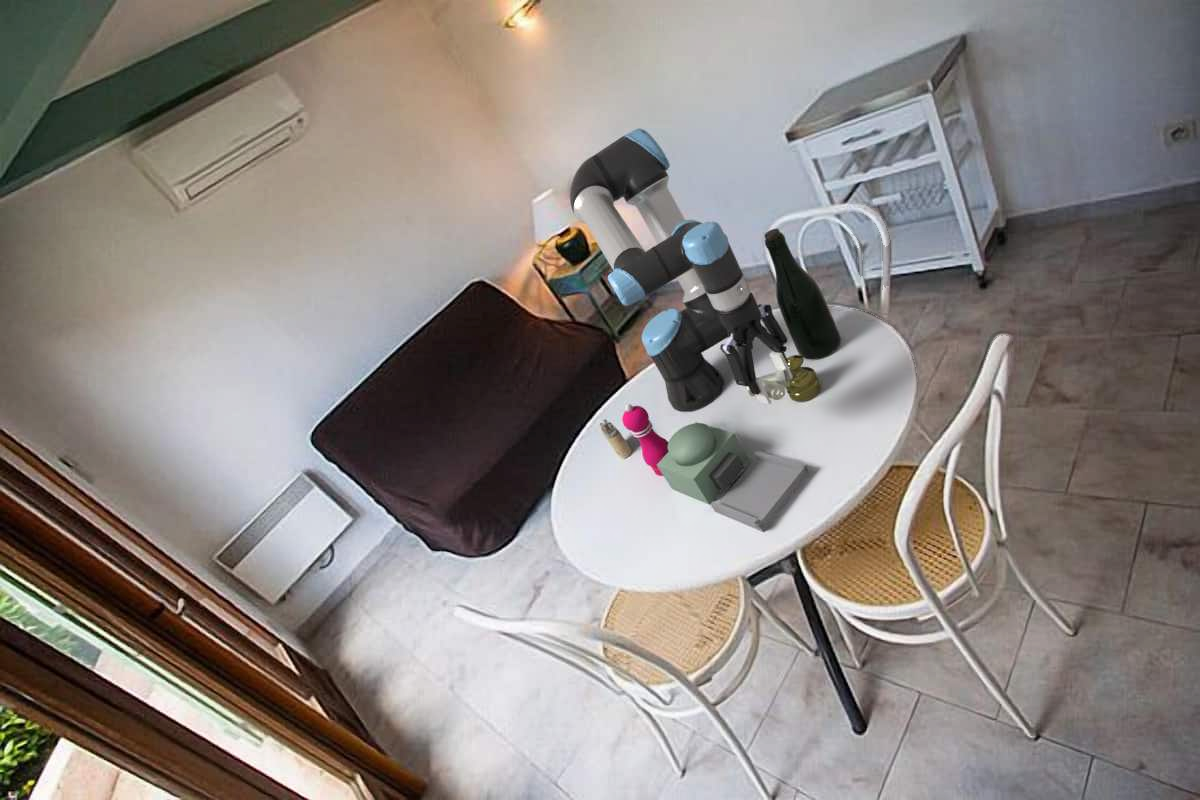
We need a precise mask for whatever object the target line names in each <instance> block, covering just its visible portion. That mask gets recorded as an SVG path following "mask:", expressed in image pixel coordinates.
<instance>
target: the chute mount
mask: <svg viewBox="0 0 1200 800" xmlns="http://www.w3.org/2000/svg"><path fill="white" fill-rule="evenodd" d="M753 455H754V457H755V459H754V461H752V463H751V464H750V465H749V466H748V467H747V469H746V470H745V471H743V473H742V474H741V475H740V477H739V478H737V480H736V482H735V483H734V484H733V485H732V486H731V488H730V489H729V490H728V491H727V492H726V493H725V495H724V496H723V497H722V498H721V499H720V500H719V502H718V501H714V500H713V501H712V502H711V503H710V506H711V508H712V509H713V511H714V512H715V513H717V514H719V515H721V516H724V517H726V518H728V519H731V520H733V521H737V522H739V523H741V524H743V525H746V526H748V527H750V528H753V529H755V530H757V531H760V532H762V533H763V532H764V531H765V530H766V529H767V528H768V527H769V526H770V524H771V523H772V521H773V520H774V519H775V518H776V516H777V515H778V514H779V513H780V511H782V509H783V508H784V506H785V505H786V504H787V503H788V501H789V500H790V498H791V497H792V496H793V495H794V494H795V493H796V492H797V490H798V489H799V488H800V486H801V485H802V484H803V483H804V482H805V480H806V479H807V477H808V476H809V475H810V474H811V471H810V469H809V468H808V466H807V464H804V463H800V462H797V461H793V460H790V459H786V458H783V457H780V456H776V455H772V454H770V453H766V452H764V451H759V450H755V451H754V452H753Z"/></svg>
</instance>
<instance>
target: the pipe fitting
mask: <svg viewBox="0 0 1200 800" xmlns="http://www.w3.org/2000/svg"><path fill="white" fill-rule="evenodd" d="M757 378H760V380H761V382H762V384H763V386H764V388H765V390H766V392H767V394H768V396H769V398H770V399H772V400H774V401H780V400H782V399H783V398H784V397H785V395H786V388H785V387H788V386H789V379H788V376H787V374H786V371H785V370H784V369H782V370H778V371H777V370H776V371H775V372H773V373H769V374H765V375H761V376H758V377H757ZM746 390H747V392H748V395H749V396H751V397H756V395H755V394H752V393H751V391H750V389H749V387H748V386H746Z"/></svg>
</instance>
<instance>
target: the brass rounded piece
mask: <svg viewBox="0 0 1200 800" xmlns="http://www.w3.org/2000/svg"><path fill="white" fill-rule="evenodd" d="M786 358H787V362H786V363H787V365H788V367H789V369H790V372H791V374H792V376H793V378H792V379H789V386H788V387H785V390H786V393H787V394H788V395H789V398H790V400H792V401H794V402H796V403H797V402H798V403H799V402H800V403H801V402H802V403H803V402H807V401H809V400H810V401H811V399H814V398H815V397H816V396H817V395H819V393H820V391H821V389H822V385H821V383H820V382H821V381H820V379H819V377H818V376H817V373H816V370H815V369H813V368H812V367H810V366H803V363H804V361H805V360H804V359H805V358H803V357H802V356H800V355H799V354H794V355H793V354H792V355H790V356H788V357H786Z"/></svg>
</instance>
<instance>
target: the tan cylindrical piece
mask: <svg viewBox="0 0 1200 800" xmlns="http://www.w3.org/2000/svg"><path fill="white" fill-rule="evenodd" d="M599 426H600V430H601V432H602V434H603V435H604V437H605V439H606V440H607V441H608V443H609V444H610V446H611V447H612V449H613V450H614V451H615V453H616V454H617V455H618V456H619V457H620V459H626V457H627V458H628V457H630V456H631V455H632V453H633V449H632V448H631V445H629V444H628V442H627V441H626V440H625V438H624V437H623V434H621V432H620V431H619V429H618V428H617V427H616V426H615V425H614V424H613V423H612V422H610V421H608V420H607V419H606V418H604V419H603V423H602V422H600V423H599ZM631 452H632V453H631ZM630 454H631V455H630ZM629 455H630V456H629Z"/></svg>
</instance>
